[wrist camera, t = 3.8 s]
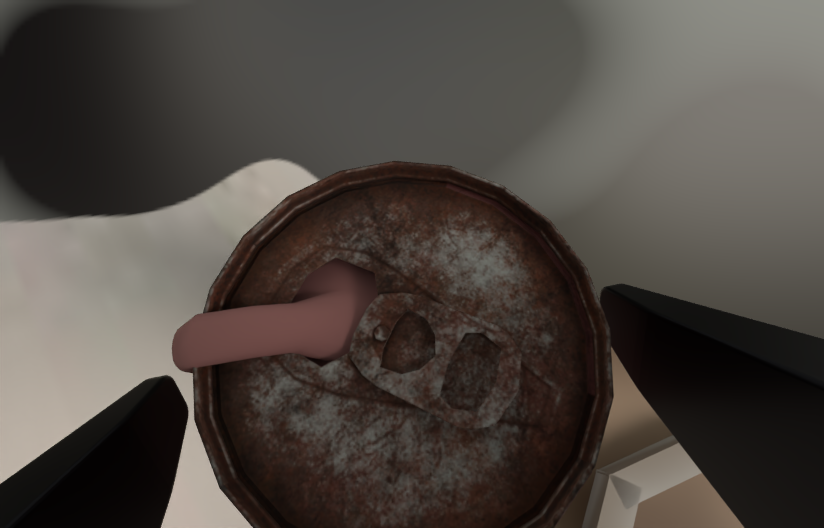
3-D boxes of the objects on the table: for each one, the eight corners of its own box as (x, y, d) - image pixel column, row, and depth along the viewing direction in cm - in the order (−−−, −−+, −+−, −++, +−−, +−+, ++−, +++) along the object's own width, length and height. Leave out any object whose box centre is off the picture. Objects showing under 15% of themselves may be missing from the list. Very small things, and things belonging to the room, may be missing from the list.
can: (329, 336, 19) (140, 178, 6) (460, 311, 20) (557, 108, 6) (347, 478, 17) (125, 709, 4) (493, 446, 18) (733, 563, 4)
